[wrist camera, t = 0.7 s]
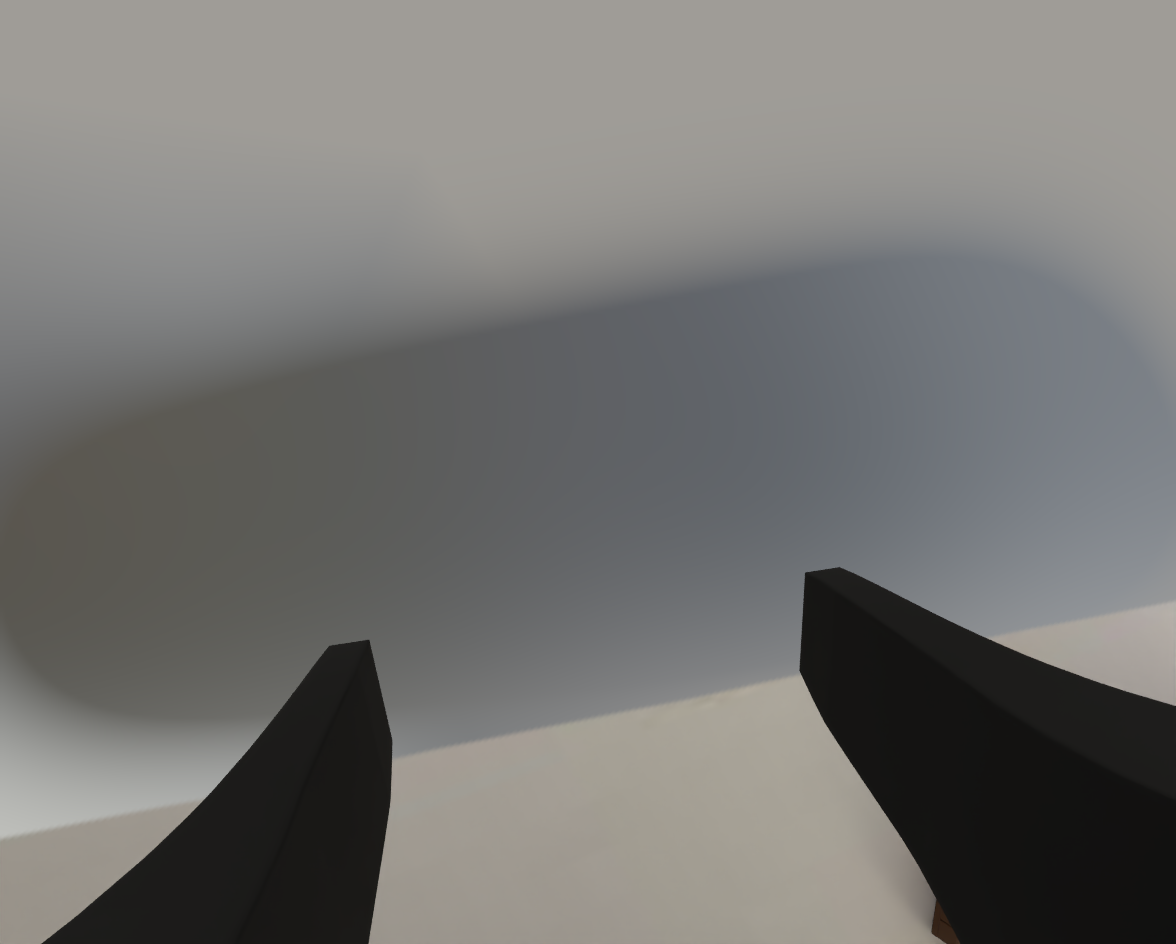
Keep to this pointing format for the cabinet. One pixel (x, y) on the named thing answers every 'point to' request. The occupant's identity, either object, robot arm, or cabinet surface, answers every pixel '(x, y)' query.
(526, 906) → the cabinet surface
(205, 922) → the robot arm
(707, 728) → the cabinet surface
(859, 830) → the cabinet surface
